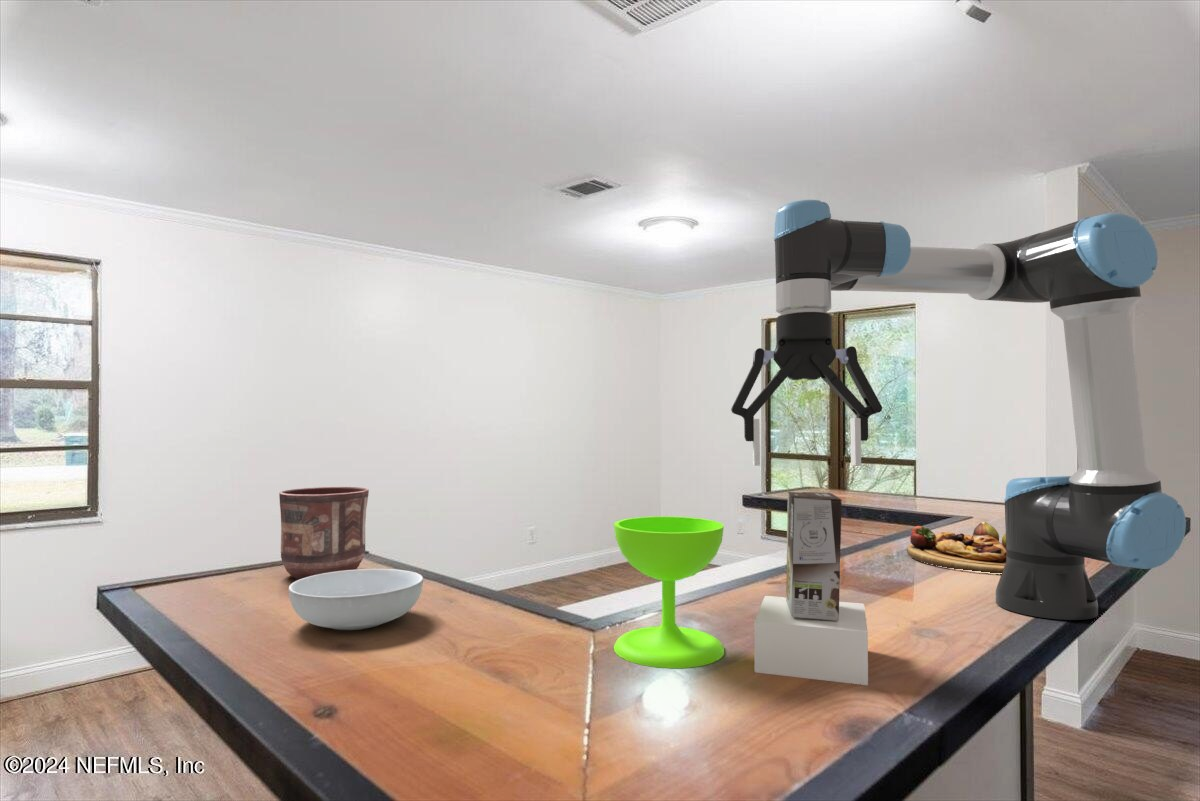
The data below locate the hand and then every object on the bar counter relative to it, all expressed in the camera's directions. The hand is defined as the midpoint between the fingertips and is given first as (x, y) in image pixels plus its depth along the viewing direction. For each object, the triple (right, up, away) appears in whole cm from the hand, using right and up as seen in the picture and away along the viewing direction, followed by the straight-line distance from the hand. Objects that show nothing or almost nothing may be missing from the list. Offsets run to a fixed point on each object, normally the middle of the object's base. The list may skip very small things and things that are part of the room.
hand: (805, 465), depth 98 cm
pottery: (-88, -28, +51) cm, 105 cm away
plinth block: (0, -27, -1) cm, 27 cm away
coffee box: (0, -20, -1) cm, 20 cm away
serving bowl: (-69, -28, +17) cm, 76 cm away
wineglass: (-19, -27, +4) cm, 33 cm away
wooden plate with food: (+60, -29, +66) cm, 94 cm away
